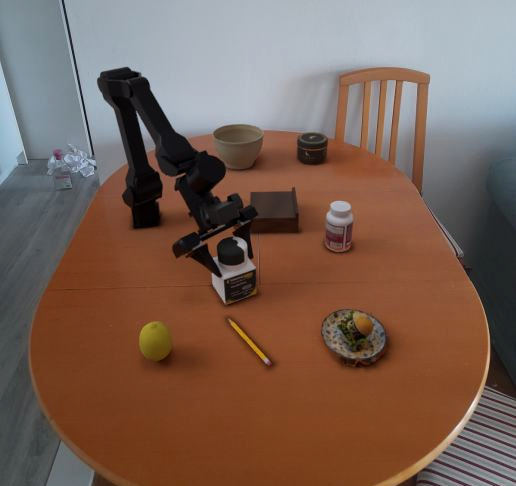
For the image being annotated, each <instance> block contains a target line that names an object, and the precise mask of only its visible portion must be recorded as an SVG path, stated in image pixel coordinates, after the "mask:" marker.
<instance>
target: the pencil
mask: <svg viewBox="0 0 516 486" xmlns="http://www.w3.org/2000/svg"><path fill="white" fill-rule="evenodd" d="M227 319H228V321H229V324H230V326H231V327H233V329H234V330H235V331H236V332H237V333H238V334H239V336H241V337H242V339H243V340H244V341H245V342H246V343H247V344H248V345H249V346H250V347H251V348H252V350H253V351H254V352H255V353H256V354H257V356H259V357H260V358H261V360H262V361H263V362H264V363H265V364H266V365H267V367H270V366H272V363H273V362H271V361H270V360H269V358H268V357H266V355H265V354H264V353H263V352H262V351H261V350H260V349H259V348H258V347H257V345H256V344H255V343H254V342H253V341H252V340H251V338H249V337H248V336H247V335H246V333H245V332H244V331H243V330H242V329H241V328H240V327H239V326H238V325H237V323H236V322H235V321H233V320H231V319H230V318H227Z"/></svg>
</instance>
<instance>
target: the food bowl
mask: <svg viewBox="0 0 516 486" xmlns="http://www.w3.org/2000/svg"><path fill="white" fill-rule="evenodd" d="M320 334H321V336H322V338H323V341H324V342H325V345H326V346H327V347H328V348H329V349H330V352H332V353H333V354H334V355H336V356H339V357H340V358H341V359H342V363H343V364H344V366H350V367H356V365H357V363H358V362H360V363H361V364H362V365H365V366H369V365H372V364H374V363H375V362H376V361H377V360H379V359H380V357H381V356H384V354H385V353H386V349H387V343H388V336H387V331H386V329H385V328H384V325H383V324H382V323H381V322H380V320H378V319H377V318H376V317H375V316H374V315H372V313H368V312H364V311H362V310H360V309H355V308H354V309H351V308H345V309H338V310H335V311H333V312H331V313H330V314H328V315H327V316H326V317H325V318H324V319H323V321H322V324H321V331H320Z"/></svg>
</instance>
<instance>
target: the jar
mask: <svg viewBox="0 0 516 486" xmlns="http://www.w3.org/2000/svg"><path fill="white" fill-rule="evenodd" d="M296 139H297V140H296V146H297V147H296V155H297V159H298V160H299V162H301V163H303V164H305V165H320V164H322V163H324V162H325V161H326V158H327V156H328V146H329V138H328V136H327V135H326V134H323V133H321V132H315V131H314V132H313V131H312V132H311V131H310V132H309V131H307V132H304V133H301V134H299V135H298V136H297V138H296Z"/></svg>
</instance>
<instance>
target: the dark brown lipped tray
mask: <svg viewBox="0 0 516 486" xmlns="http://www.w3.org/2000/svg"><path fill="white" fill-rule="evenodd" d="M249 195H250V196H249V205H251V206H253V207H255V208H256V210H257V212H258V213H259V215H258V216H256V217H255V218H253V219H254V222H253V223H252V224H251V228H250V234H285V233H287V234H289V233H290V234H291V233H293V234H294V233H296V234H297V233H299V226H300V225H299V224H300V223H299V222H300V212H299V205H298V198H297V191H296V187H295V186H292V187H291V190H288V191H287V190H286V191H285V190H282V191H277V190H275V191H250V193H249ZM253 219H252V220H253ZM250 221H251V220H250Z"/></svg>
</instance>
